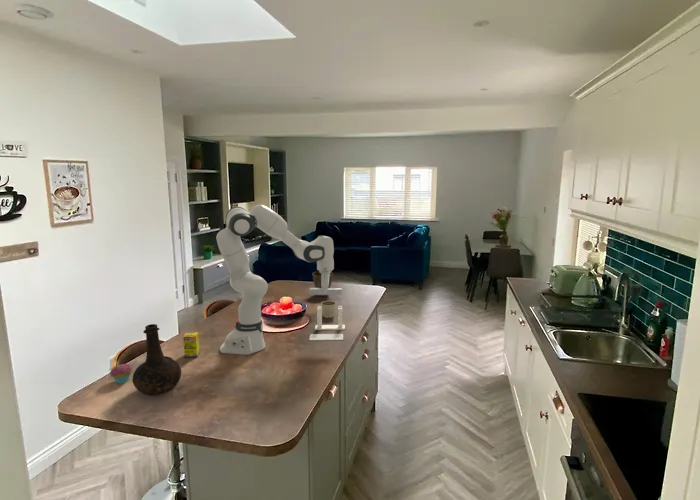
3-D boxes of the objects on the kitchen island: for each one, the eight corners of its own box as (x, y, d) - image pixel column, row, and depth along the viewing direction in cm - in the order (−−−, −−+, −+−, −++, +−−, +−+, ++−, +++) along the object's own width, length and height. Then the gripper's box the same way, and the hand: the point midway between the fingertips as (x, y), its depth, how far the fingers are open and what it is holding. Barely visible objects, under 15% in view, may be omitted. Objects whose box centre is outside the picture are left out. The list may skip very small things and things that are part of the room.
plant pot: (325, 290, 316) (324, 270, 313) (337, 294, 305) (336, 273, 302) (308, 294, 307) (308, 273, 304) (320, 298, 295) (320, 277, 293)
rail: (309, 294, 220) (309, 289, 219) (309, 293, 223) (309, 287, 222) (341, 295, 220) (341, 289, 220) (341, 293, 223) (341, 288, 223)
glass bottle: (190, 381, 178) (185, 319, 173) (163, 403, 161) (156, 335, 156) (154, 377, 182) (148, 316, 177) (124, 398, 165) (116, 331, 160)
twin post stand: (315, 330, 236) (314, 309, 234) (315, 326, 242) (315, 305, 240) (344, 329, 236) (344, 308, 234) (344, 326, 242) (344, 305, 240)
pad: (309, 340, 221) (309, 339, 221) (310, 334, 229) (310, 334, 229) (343, 340, 221) (343, 339, 221) (343, 334, 229) (343, 333, 229)
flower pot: (318, 317, 256) (318, 304, 255) (325, 313, 265) (324, 300, 263) (332, 319, 253) (332, 306, 251) (338, 315, 261) (338, 301, 260)
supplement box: (184, 358, 200) (182, 337, 198) (187, 353, 206) (185, 332, 204) (197, 357, 201) (195, 336, 199) (199, 352, 207) (198, 331, 205)
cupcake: (118, 387, 173) (115, 360, 171) (107, 382, 177) (103, 356, 175) (137, 379, 180) (135, 353, 178) (126, 374, 185) (123, 349, 182)
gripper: (331, 270, 209) (331, 297, 211) (331, 262, 229) (331, 286, 231) (318, 270, 209) (318, 297, 211) (320, 262, 229) (320, 286, 231)
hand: (325, 291), depth 221 cm, fingers closed on rail, 3 cm apart
